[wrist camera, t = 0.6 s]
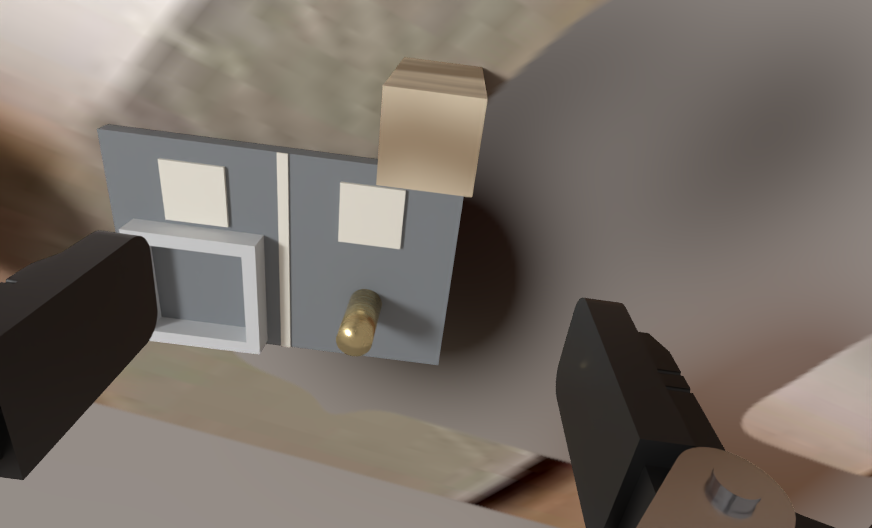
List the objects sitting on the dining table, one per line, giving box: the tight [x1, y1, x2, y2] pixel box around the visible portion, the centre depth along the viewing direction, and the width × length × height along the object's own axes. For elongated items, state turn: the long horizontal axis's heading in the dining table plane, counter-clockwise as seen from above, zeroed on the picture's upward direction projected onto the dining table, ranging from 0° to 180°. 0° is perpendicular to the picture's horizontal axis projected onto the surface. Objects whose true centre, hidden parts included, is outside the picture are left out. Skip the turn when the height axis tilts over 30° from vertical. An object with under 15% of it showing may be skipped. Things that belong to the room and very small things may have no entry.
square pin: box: [376, 57, 488, 197], centre depth 25 cm, size 4×4×8 cm
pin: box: [336, 289, 382, 356], centre depth 32 cm, size 2×2×4 cm
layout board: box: [97, 124, 464, 365], centre depth 32 cm, size 13×20×2 cm, turn 83°
